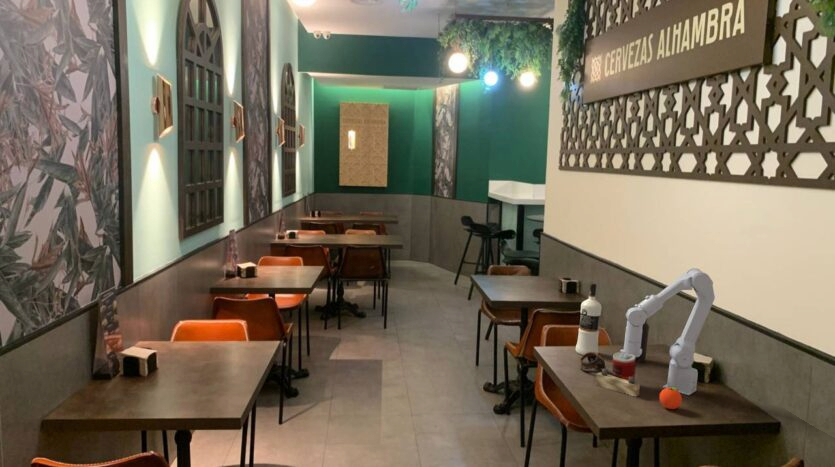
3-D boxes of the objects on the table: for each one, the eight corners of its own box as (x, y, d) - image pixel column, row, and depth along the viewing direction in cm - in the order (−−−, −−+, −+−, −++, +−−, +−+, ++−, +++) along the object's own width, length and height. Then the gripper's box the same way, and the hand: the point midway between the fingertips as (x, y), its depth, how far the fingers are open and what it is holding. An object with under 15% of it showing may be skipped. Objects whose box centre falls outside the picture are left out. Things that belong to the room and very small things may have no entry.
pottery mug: (610, 377, 237) (603, 359, 234) (586, 384, 239) (579, 368, 236) (603, 359, 248) (596, 342, 246) (580, 367, 250) (573, 350, 247)
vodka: (602, 355, 261) (609, 285, 258) (584, 357, 258) (591, 286, 254) (588, 349, 270) (595, 281, 266) (570, 350, 266) (577, 281, 262)
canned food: (637, 381, 228) (638, 353, 225) (631, 391, 222) (631, 362, 219) (616, 377, 232) (616, 349, 229) (609, 386, 226) (610, 358, 223)
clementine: (666, 402, 213) (669, 382, 213) (686, 409, 208) (688, 388, 207) (654, 406, 208) (656, 386, 208) (673, 414, 203) (676, 393, 202)
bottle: (635, 356, 263) (640, 310, 261) (648, 361, 257) (654, 314, 255) (624, 358, 260) (629, 311, 257) (637, 363, 254) (643, 315, 252)
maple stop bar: (638, 395, 218) (640, 378, 218) (635, 397, 216) (637, 380, 215) (598, 382, 228) (600, 366, 228) (595, 384, 226) (596, 368, 225)
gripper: (630, 334, 236) (626, 369, 238) (613, 341, 225) (609, 377, 227) (648, 339, 231) (644, 374, 233) (632, 346, 220) (628, 383, 222)
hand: (628, 376), depth 230 cm, fingers closed, pressing on canned food
